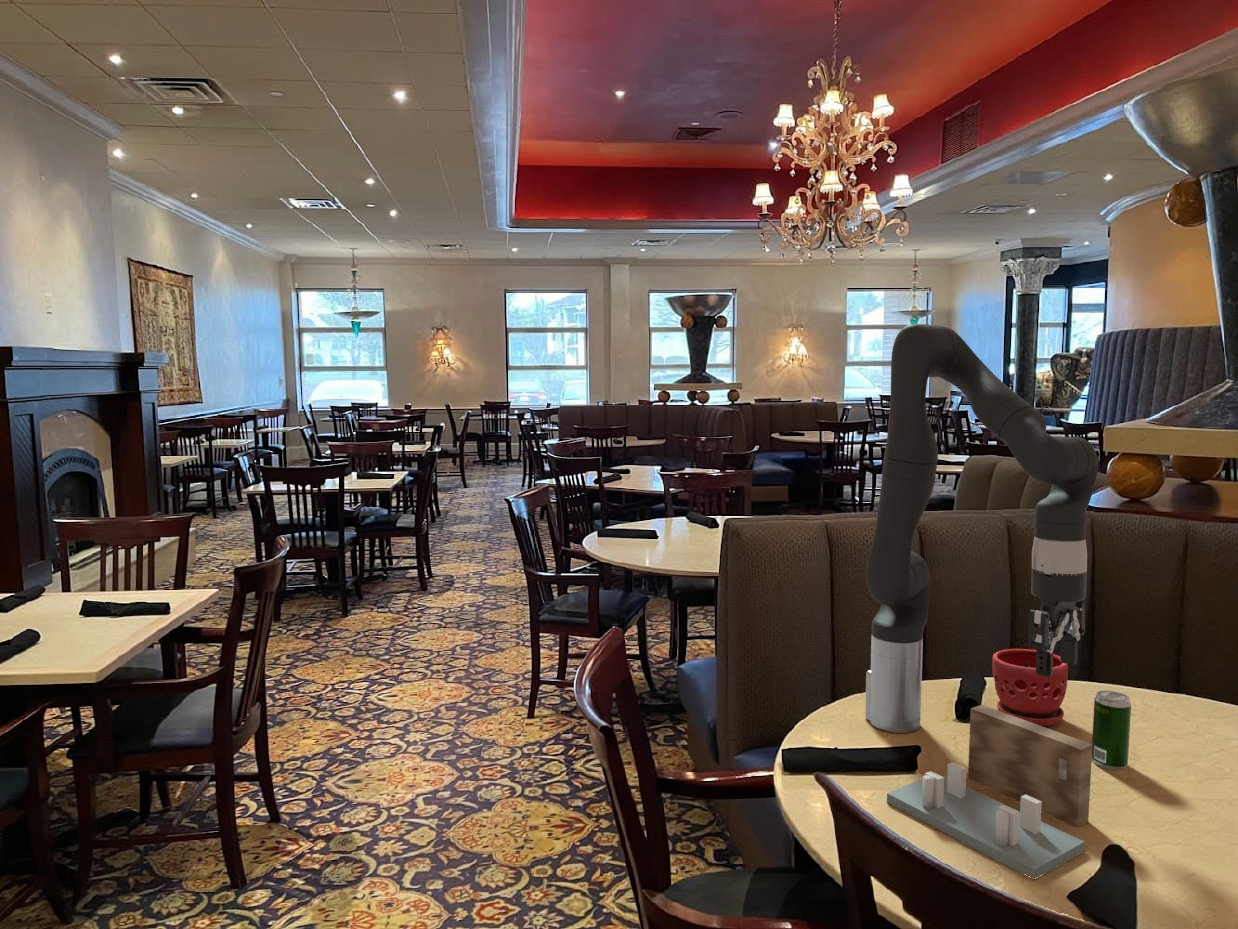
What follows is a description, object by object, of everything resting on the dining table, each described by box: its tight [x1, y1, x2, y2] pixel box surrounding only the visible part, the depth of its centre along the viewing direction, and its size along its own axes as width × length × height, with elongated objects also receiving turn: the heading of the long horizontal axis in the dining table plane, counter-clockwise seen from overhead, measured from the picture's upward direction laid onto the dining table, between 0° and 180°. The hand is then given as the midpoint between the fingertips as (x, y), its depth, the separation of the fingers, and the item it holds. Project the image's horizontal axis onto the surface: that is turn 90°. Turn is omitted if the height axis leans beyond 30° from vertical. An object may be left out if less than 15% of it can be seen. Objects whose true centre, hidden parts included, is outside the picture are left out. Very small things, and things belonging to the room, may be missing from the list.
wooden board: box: [967, 704, 1093, 828], centre depth 129 cm, size 18×3×12 cm, turn 32°
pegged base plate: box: [886, 761, 1086, 879], centre depth 121 cm, size 24×12×6 cm, turn 32°
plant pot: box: [991, 648, 1069, 727], centre depth 160 cm, size 13×13×12 cm
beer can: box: [1091, 690, 1132, 771], centre depth 140 cm, size 5×5×12 cm
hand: (1056, 669), depth 128 cm, fingers open, 8 cm apart
